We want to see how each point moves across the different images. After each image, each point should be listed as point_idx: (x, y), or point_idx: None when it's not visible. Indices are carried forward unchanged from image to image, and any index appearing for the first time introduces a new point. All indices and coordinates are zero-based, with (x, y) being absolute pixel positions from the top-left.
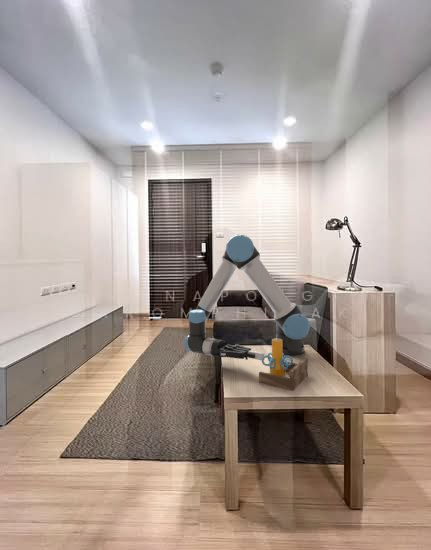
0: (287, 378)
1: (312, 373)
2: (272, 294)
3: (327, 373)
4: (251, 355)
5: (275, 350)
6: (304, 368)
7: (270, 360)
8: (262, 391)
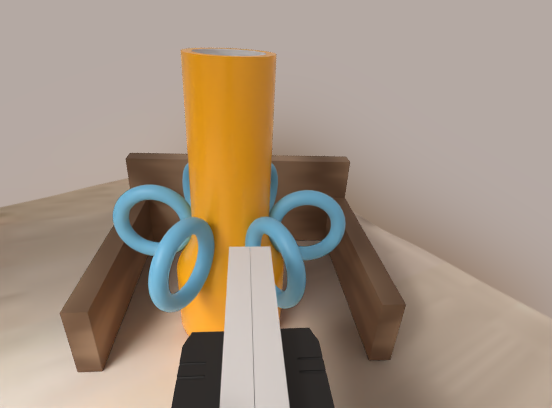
0: (344, 202)
1: (105, 228)
2: None
3: (89, 200)
4: (319, 368)
5: (272, 137)
6: None
7: (333, 200)
8: (451, 302)
